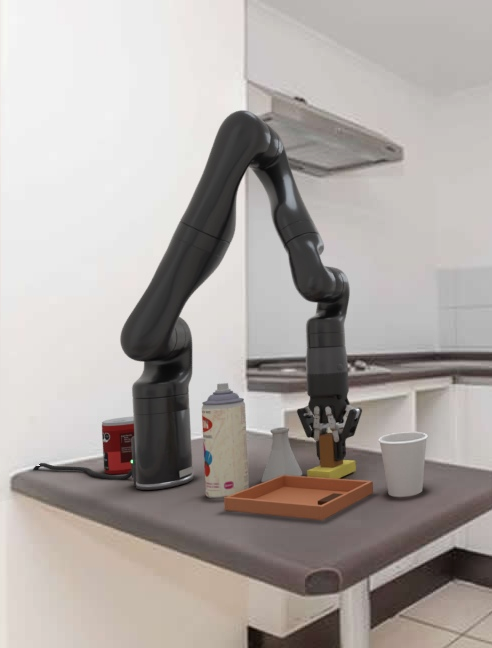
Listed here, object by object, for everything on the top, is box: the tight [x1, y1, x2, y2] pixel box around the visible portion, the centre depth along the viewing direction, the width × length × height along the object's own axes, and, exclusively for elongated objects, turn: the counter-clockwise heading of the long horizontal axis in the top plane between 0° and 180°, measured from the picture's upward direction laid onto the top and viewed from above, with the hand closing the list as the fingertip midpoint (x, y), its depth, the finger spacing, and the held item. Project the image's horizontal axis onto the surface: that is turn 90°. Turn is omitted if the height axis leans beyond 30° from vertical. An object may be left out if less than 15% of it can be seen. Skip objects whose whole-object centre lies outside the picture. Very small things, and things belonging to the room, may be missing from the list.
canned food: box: [101, 416, 134, 475], centre depth 120 cm, size 8×8×11 cm
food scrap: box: [318, 493, 343, 505], centre depth 90 cm, size 4×4×1 cm
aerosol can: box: [201, 382, 250, 499], centre depth 99 cm, size 7×7×20 cm
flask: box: [260, 426, 303, 483], centre depth 107 cm, size 7×7×10 cm
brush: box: [306, 432, 357, 479], centre depth 106 cm, size 5×8×8 cm, turn 161°
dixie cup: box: [378, 431, 429, 498], centre depth 96 cm, size 8×8×10 cm
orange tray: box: [223, 475, 374, 521], centre depth 92 cm, size 19×13×2 cm
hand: (331, 459), depth 106 cm, fingers closed on brush, 3 cm apart
